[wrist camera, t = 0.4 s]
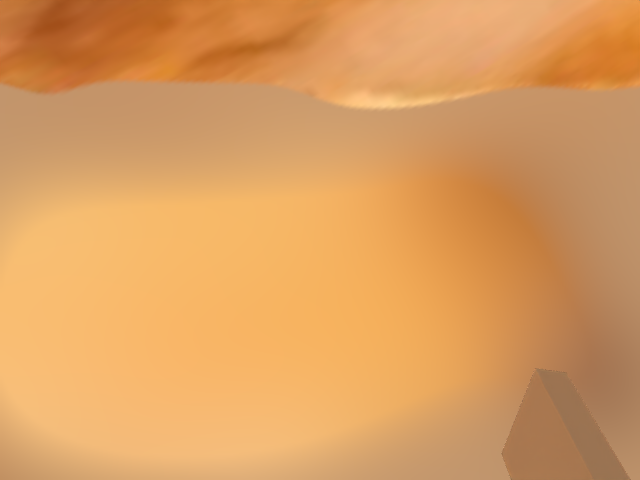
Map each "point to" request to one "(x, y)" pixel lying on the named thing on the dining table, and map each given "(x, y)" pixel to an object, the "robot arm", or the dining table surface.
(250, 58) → the dining table surface
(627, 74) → the dining table surface
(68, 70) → the dining table surface
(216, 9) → the dining table surface
